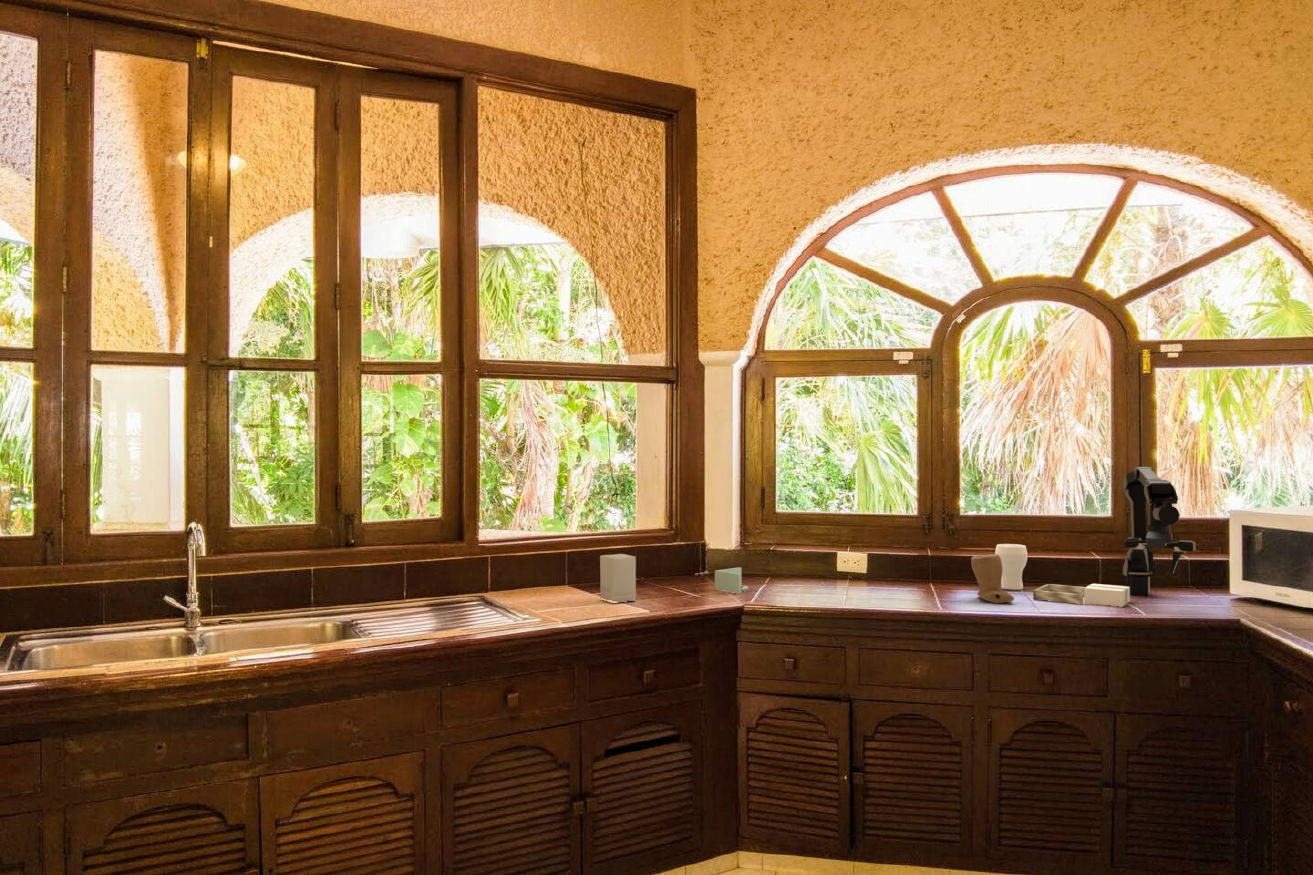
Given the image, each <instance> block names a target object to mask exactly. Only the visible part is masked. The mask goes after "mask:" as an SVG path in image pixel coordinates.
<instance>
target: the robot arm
mask: <svg viewBox="0 0 1313 875" xmlns="http://www.w3.org/2000/svg"><path fill="white" fill-rule="evenodd" d="M1122 489H1123V490H1124V495H1125V496H1126V498H1127V499H1128V501H1129V502H1130V522H1131V523H1130V524H1131V525H1130V526H1131V530H1130V531H1131V537H1130V536H1129V537H1127V538H1126V539H1124V544H1123V546H1124V547H1123V548H1128V549H1129V550H1128V551H1127V552H1126V558H1125V559H1124V564H1123V567H1122V574H1123V576H1125V577H1127V578H1126V579H1125V586H1127V587H1130V595H1132V596H1133V595H1134V596H1144V597H1149V595H1151V594H1152V592H1151V585H1150V584H1151V580H1150V579H1151V578H1155V577H1156V576H1155V575H1156V567H1157V563H1156V561H1155V559H1154V553H1153V551H1151V549H1150V548H1158V549H1163V548H1165V549H1166V548H1167V549H1174V550H1173V551H1172V559H1171V560H1172V561H1171V574H1174V573H1175V570H1176V568H1177V565H1178V562H1179V560H1180V558H1181V556H1182V554H1186V553H1187V552H1194V551H1196V550H1197V546H1196V542H1195V541H1194V540H1187V539H1180V540H1179V541H1174V540H1173V538H1174V537H1173V536H1174V535H1173V532H1171V525H1174V524H1176V523H1177V522H1178V521H1179V520H1180V516H1181V514H1180V512H1179V510H1178V508H1176V507H1175V506H1173V505H1177V504H1178V500H1179V496H1178V493H1177V492H1176V488H1175V486H1174V485H1173V484H1172V482H1171V481H1169V480H1166V479H1161V478H1160V477H1159V476H1158V475H1157V474H1156V473H1155V472H1154V470H1153V467H1150V466H1137V467H1134V469H1133V470H1132V471H1130V472H1129V473H1127V474H1125V476H1124V479H1123V480H1122ZM1147 504H1148V531H1147Z"/></svg>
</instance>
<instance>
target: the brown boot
mask: <svg viewBox="0 0 1313 875" xmlns="http://www.w3.org/2000/svg"><path fill="white" fill-rule="evenodd" d="M970 563H971V569H972V571H973V573H974V577H975V578H976V581H977V584H978V586H979V587H978V588H979V590H978V591H977V593H976V594H977V596H978V597H979V598H981V599H983V600H985V601H988V602H990V603H996V604H1003V603H1007V602H1012V601H1014V600H1015V597H1014V596H1013V595H1012V594H1011V593H1009V592H1008V591H1005V589H1003V588H1001V578H1002V562H1001V557H1000V556H999V555H998V554H996V555H995V553H994V554H993V553H991V554H985V555H975V556H972V557H971V559H970Z"/></svg>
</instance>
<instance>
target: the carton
mask: <svg viewBox="0 0 1313 875" xmlns="http://www.w3.org/2000/svg"><path fill="white" fill-rule="evenodd" d="M1084 587H1085V586H1084ZM1130 595H1131V594H1130V587H1127V586H1126V585H1115V584H1113V585H1112V584H1101V583H1091V584H1088V585H1087V586H1086V587H1085V588H1084V596H1083V604H1086V603H1092V604H1091V605H1096V604H1102V605H1101V606H1106V605H1111V606H1110V607H1116V606H1119V607H1118V608H1123V606H1124V605H1125V606H1126V604H1127V603H1128V602H1129V603H1131V596H1130ZM1129 603H1128V604H1129ZM1128 604H1127V605H1128ZM1125 606H1124V607H1125Z"/></svg>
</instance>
